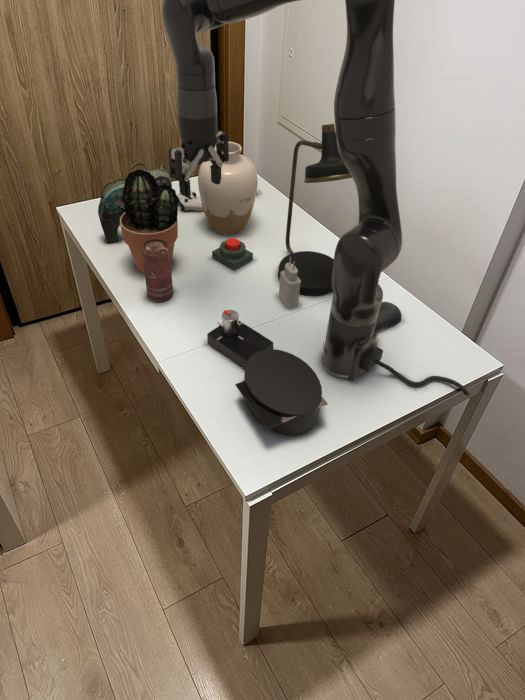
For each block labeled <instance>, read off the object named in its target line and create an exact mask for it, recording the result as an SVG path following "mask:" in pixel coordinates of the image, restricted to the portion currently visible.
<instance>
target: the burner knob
mask: <svg viewBox="0 0 525 700" xmlns="http://www.w3.org/2000/svg"><path fill="white" fill-rule="evenodd" d="M239 321H240V315H239V312H238V311H236V310H234V309H224V310H223V311H222V313H221V324H222V333H223V334H224V335H225V336H228V337H232V336H235V335H237V334H238V331H239Z"/></svg>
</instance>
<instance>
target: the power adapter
mask: <svg viewBox="0 0 525 700" xmlns="http://www.w3.org/2000/svg"><path fill="white" fill-rule="evenodd" d="M294 264H295V261H294V263H293V264H292V263H291V257H290V261H289V263H286V265H285V270H284V271H281V274H280V281H279V287H278V299H279V300H280V302H282V304H283V305H284V308H286V309H293V308H297V307H298V306H299V299H300V294H299V291H300V283H301V280H300V279H299V278H298V276H297V275H298V269H297V268H296V267H295V266H294Z"/></svg>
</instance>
